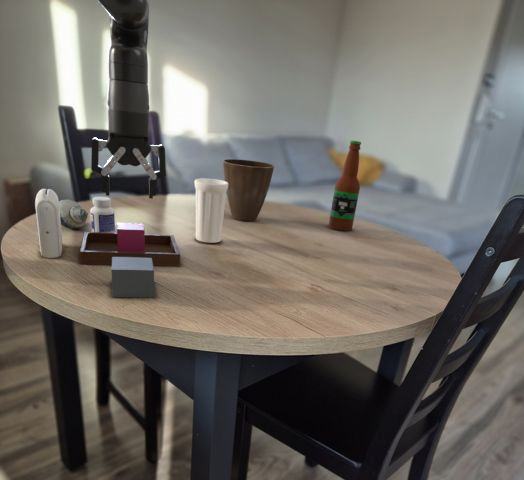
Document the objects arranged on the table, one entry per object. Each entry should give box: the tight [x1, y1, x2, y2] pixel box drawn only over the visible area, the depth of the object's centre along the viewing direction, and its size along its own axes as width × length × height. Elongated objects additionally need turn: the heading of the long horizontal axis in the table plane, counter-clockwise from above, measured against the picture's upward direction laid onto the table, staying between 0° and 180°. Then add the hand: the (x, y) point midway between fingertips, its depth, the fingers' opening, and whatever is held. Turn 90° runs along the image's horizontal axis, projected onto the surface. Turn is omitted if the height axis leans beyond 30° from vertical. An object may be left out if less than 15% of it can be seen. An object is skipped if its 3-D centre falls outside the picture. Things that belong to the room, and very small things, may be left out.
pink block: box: [116, 222, 146, 252], centre depth 103 cm, size 6×6×6 cm
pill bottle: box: [90, 196, 116, 233], centre depth 112 cm, size 5×5×9 cm
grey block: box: [110, 257, 155, 298], centre depth 86 cm, size 7×7×5 cm
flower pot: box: [222, 158, 275, 222], centre depth 143 cm, size 15×15×16 cm
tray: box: [79, 231, 181, 267], centre depth 104 cm, size 20×15×3 cm
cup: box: [194, 177, 228, 244], centre depth 117 cm, size 8×8×14 cm
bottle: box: [328, 140, 362, 232], centre depth 143 cm, size 7×7×25 cm
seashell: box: [59, 198, 89, 230], centre depth 117 cm, size 6×8×12 cm
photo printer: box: [34, 188, 63, 259], centre depth 98 cm, size 10×4×12 cm, turn 20°
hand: (129, 196), depth 99 cm, fingers open, 8 cm apart
